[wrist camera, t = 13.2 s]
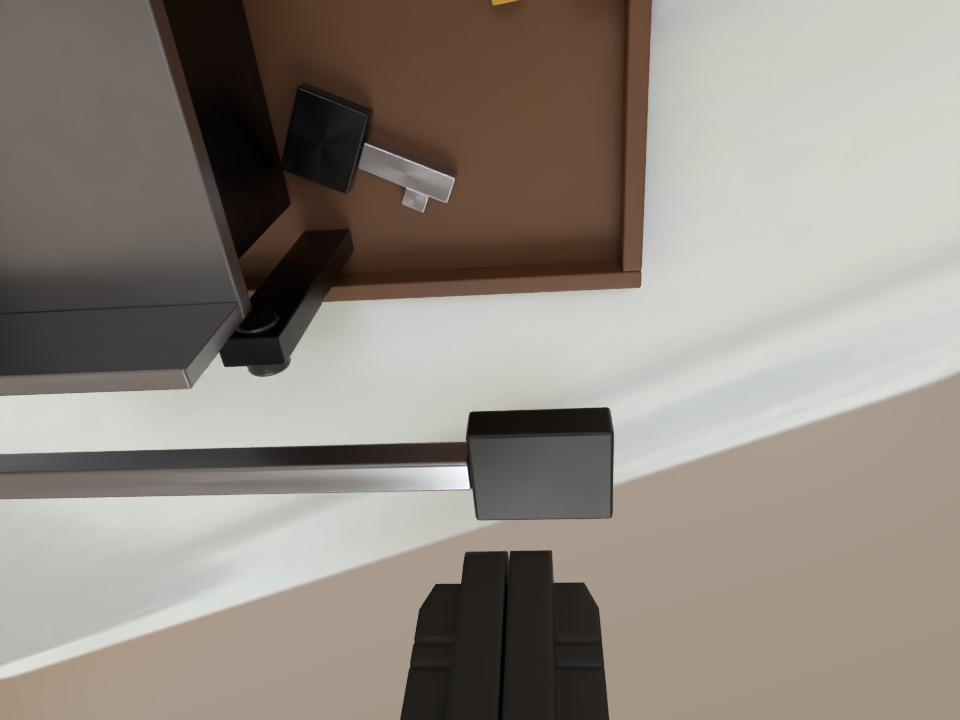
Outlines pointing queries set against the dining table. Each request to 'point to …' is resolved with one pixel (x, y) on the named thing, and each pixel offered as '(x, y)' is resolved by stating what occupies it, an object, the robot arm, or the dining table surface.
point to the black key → (354, 150)
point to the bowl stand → (251, 181)
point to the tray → (470, 140)
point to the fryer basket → (187, 288)
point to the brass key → (501, 1)
